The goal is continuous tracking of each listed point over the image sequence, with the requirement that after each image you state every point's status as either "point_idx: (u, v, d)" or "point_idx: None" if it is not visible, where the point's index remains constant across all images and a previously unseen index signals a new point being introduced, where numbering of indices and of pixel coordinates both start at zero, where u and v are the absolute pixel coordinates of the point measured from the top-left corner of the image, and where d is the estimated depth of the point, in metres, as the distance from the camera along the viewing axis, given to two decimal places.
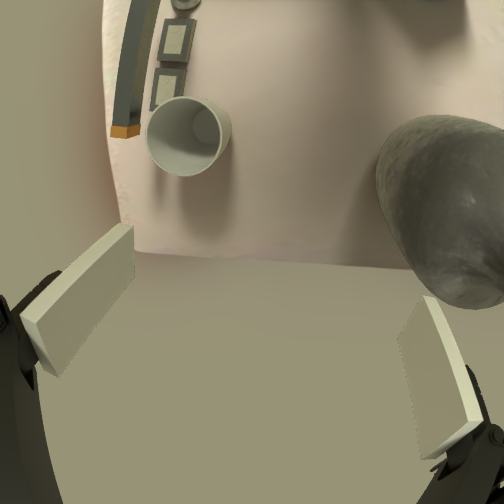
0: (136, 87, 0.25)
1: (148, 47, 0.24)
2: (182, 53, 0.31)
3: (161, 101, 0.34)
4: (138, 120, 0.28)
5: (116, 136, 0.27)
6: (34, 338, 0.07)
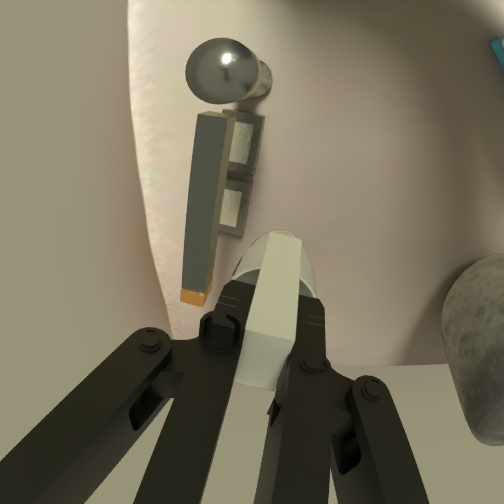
0: (211, 248, 0.23)
1: (223, 190, 0.22)
2: (248, 163, 0.29)
3: (221, 220, 0.33)
4: (211, 277, 0.26)
5: (189, 302, 0.25)
6: (252, 350, 0.09)
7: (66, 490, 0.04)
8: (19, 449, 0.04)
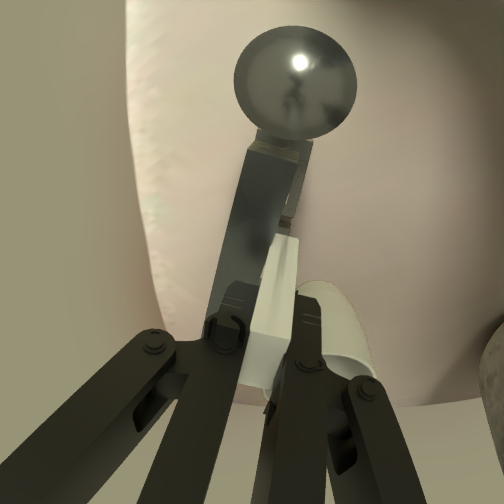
0: None
1: None
2: (289, 202, 0.23)
3: None
4: None
5: None
6: (257, 351, 0.09)
7: (69, 491, 0.04)
8: (22, 450, 0.04)
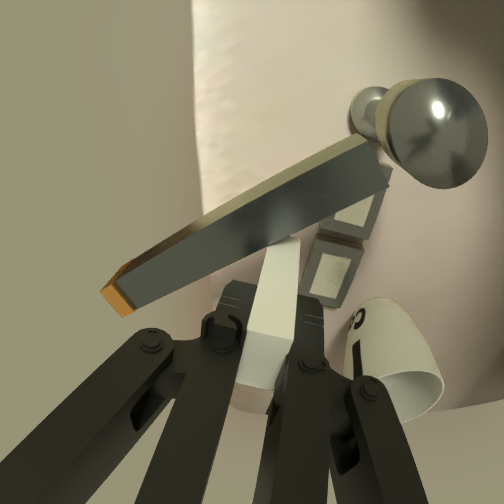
0: None
1: None
2: (366, 226, 0.22)
3: (320, 290, 0.26)
4: None
5: (109, 301, 0.16)
6: (254, 351, 0.09)
7: (67, 491, 0.04)
8: (20, 449, 0.04)
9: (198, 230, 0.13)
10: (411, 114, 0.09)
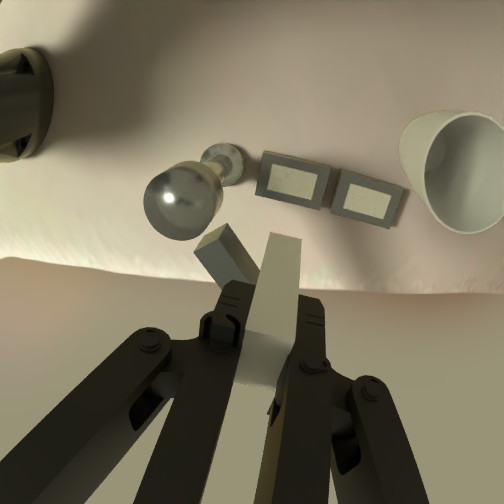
0: None
1: None
2: (317, 171, 0.26)
3: (381, 209, 0.26)
4: None
5: None
6: (252, 350, 0.09)
7: (66, 490, 0.04)
8: (19, 449, 0.04)
9: None
10: (170, 229, 0.19)
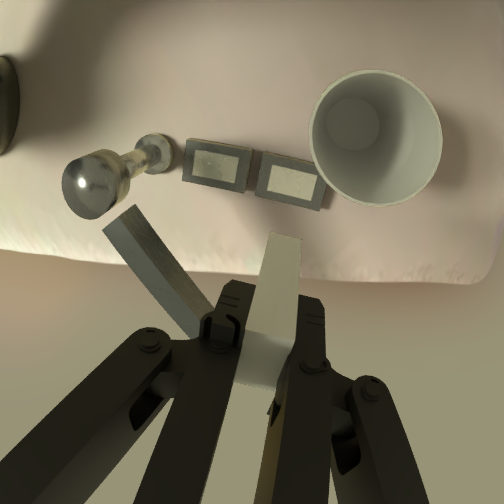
0: None
1: (177, 266, 0.23)
2: (237, 155, 0.26)
3: (307, 190, 0.26)
4: None
5: None
6: (253, 350, 0.09)
7: (66, 490, 0.04)
8: (19, 449, 0.04)
9: (167, 311, 0.22)
10: (82, 210, 0.19)
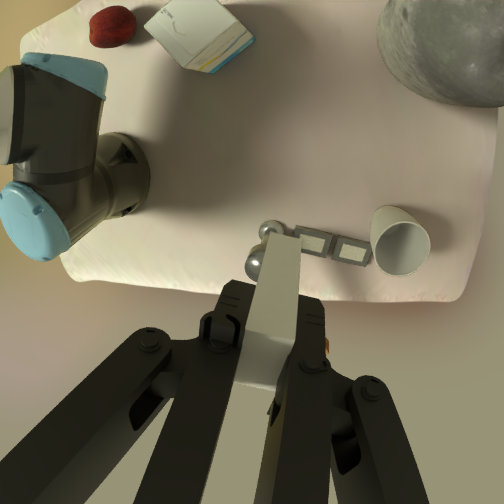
0: None
1: None
2: (324, 238, 0.47)
3: (360, 257, 0.48)
4: None
5: None
6: (252, 350, 0.09)
7: (66, 490, 0.04)
8: (20, 449, 0.04)
9: None
10: (257, 278, 0.41)
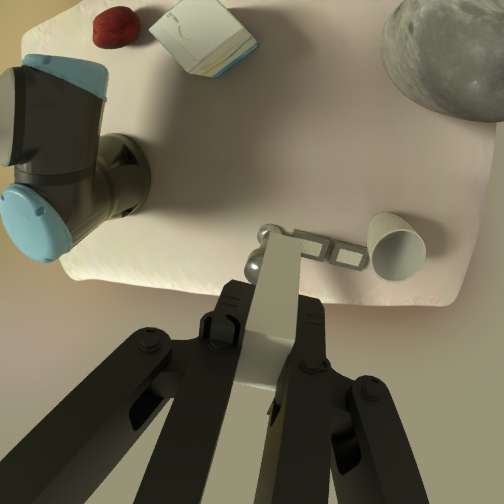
0: None
1: None
2: (322, 242, 0.48)
3: (357, 261, 0.49)
4: None
5: None
6: (252, 350, 0.09)
7: (66, 490, 0.04)
8: (19, 449, 0.04)
9: None
10: (256, 282, 0.41)
